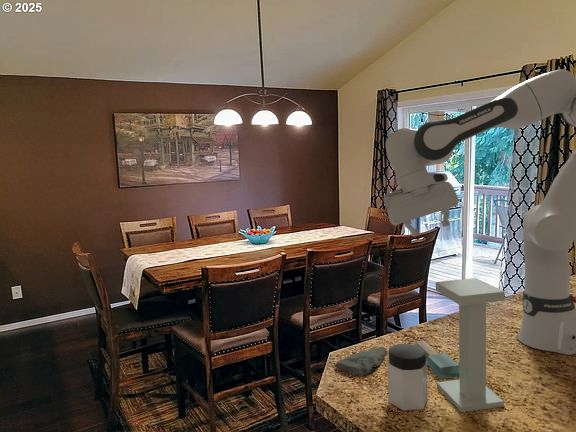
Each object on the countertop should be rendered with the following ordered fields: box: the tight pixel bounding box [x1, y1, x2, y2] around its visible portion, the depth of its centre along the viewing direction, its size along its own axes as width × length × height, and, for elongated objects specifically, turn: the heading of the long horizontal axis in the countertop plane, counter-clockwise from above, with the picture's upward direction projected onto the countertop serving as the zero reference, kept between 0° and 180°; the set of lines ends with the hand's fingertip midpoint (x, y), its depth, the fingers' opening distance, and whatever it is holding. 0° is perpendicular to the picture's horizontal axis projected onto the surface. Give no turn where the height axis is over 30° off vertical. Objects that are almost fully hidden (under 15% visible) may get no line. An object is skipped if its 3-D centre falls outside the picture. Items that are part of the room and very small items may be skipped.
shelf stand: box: [435, 277, 506, 413], centre depth 101 cm, size 10×11×26 cm
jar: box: [387, 343, 429, 411], centre depth 102 cm, size 9×8×12 cm
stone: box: [334, 346, 388, 377], centre depth 122 cm, size 17×3×10 cm
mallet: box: [414, 340, 459, 380], centre depth 120 cm, size 5×18×3 cm, turn 8°
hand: (431, 231), depth 125 cm, fingers open, 8 cm apart
